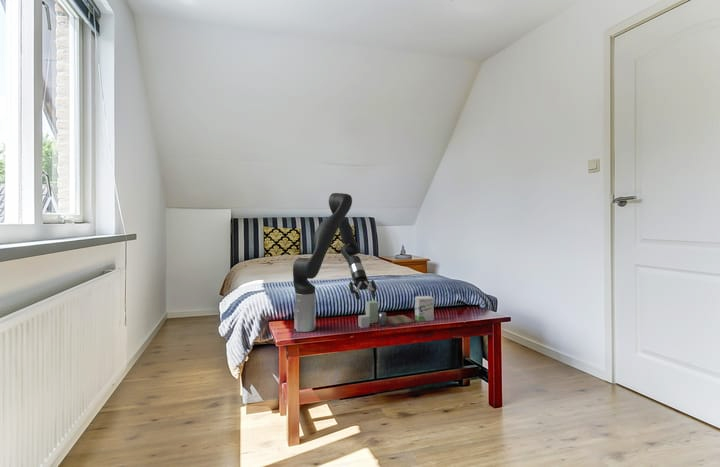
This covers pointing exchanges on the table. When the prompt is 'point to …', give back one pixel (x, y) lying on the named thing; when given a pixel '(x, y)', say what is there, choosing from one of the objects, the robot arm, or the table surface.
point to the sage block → (372, 311)
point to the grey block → (363, 321)
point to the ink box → (424, 308)
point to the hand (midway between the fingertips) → (366, 298)
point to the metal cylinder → (382, 319)
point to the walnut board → (399, 320)
